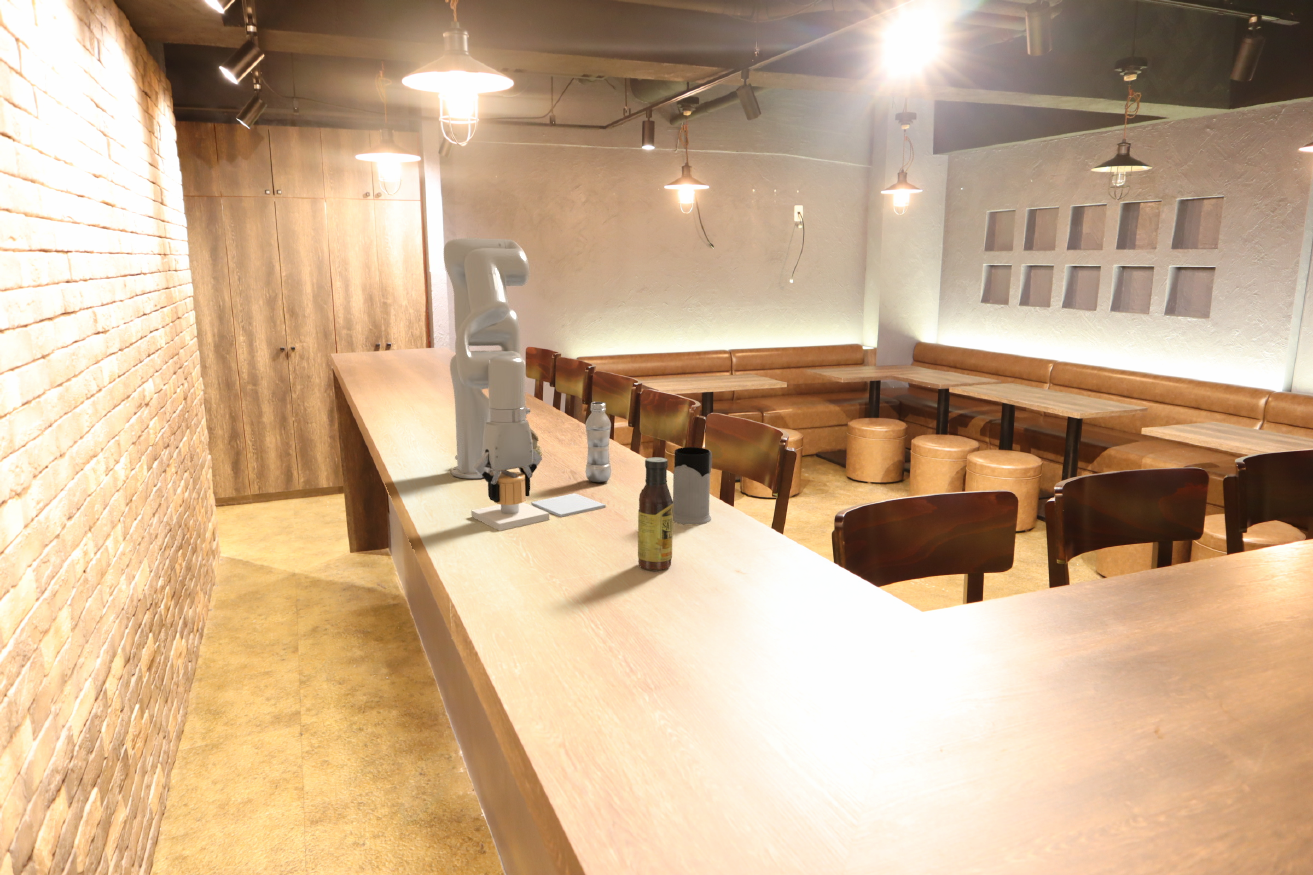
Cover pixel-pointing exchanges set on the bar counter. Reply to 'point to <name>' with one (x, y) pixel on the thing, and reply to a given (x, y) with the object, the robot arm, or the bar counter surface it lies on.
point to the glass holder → (691, 485)
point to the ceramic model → (535, 442)
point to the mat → (568, 505)
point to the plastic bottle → (598, 444)
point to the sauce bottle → (655, 518)
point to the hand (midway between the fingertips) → (509, 497)
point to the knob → (511, 487)
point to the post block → (510, 515)
